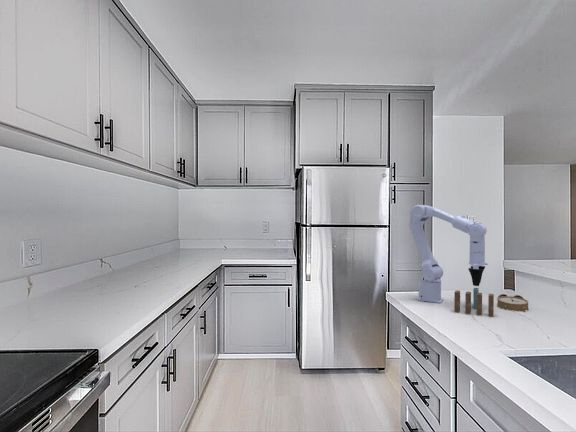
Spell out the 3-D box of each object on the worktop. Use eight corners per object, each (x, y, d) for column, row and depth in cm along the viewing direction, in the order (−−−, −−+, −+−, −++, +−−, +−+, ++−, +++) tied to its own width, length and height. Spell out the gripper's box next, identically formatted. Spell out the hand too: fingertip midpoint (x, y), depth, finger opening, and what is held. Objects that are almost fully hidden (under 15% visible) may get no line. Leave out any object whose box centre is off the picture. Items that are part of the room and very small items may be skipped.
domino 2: (465, 313, 147) (465, 293, 147) (466, 311, 150) (466, 291, 150) (469, 314, 146) (469, 293, 146) (470, 311, 150) (471, 291, 150)
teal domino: (473, 308, 155) (473, 289, 155) (474, 306, 158) (474, 287, 158) (477, 309, 154) (477, 289, 154) (478, 306, 158) (478, 288, 158)
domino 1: (454, 312, 149) (454, 292, 149) (455, 309, 153) (455, 290, 153) (458, 312, 148) (458, 292, 148) (460, 310, 152) (460, 290, 152)
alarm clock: (499, 303, 153) (495, 289, 167) (499, 314, 154) (494, 300, 167) (531, 305, 149) (524, 292, 162) (530, 317, 149) (523, 302, 163)
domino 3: (476, 315, 145) (476, 294, 145) (477, 312, 148) (477, 292, 148) (481, 315, 144) (481, 295, 144) (482, 313, 148) (482, 292, 148)
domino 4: (488, 316, 143) (488, 295, 143) (488, 313, 146) (489, 293, 146) (493, 317, 142) (493, 296, 142) (493, 314, 146) (493, 294, 145)
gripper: (487, 254, 148) (486, 288, 148) (488, 251, 160) (488, 282, 160) (467, 253, 151) (467, 286, 151) (470, 250, 164) (470, 280, 164)
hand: (476, 284), depth 156 cm, fingers open, 7 cm apart
